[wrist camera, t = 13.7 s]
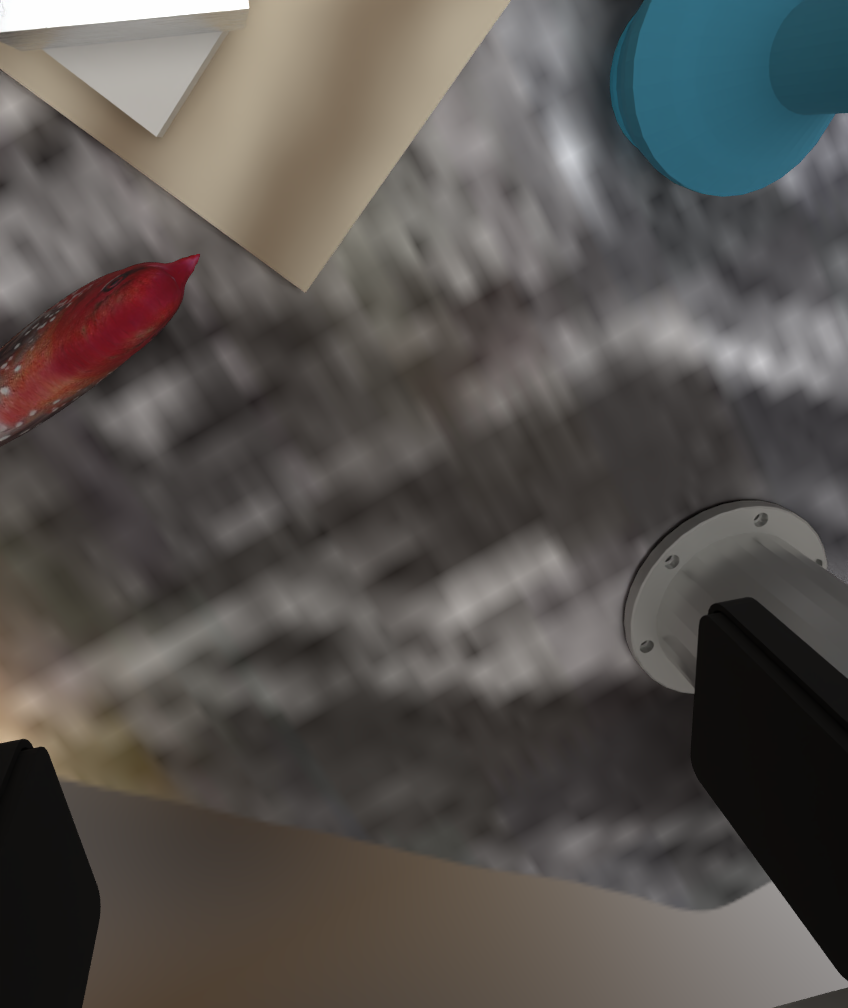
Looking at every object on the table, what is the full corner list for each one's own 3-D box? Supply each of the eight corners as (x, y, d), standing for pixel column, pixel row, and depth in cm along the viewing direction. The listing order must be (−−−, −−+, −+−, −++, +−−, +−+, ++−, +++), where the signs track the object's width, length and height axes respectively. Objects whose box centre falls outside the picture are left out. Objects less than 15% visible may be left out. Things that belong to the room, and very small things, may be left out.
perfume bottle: (620, -85, 31) (917, -254, 18) (808, -13, 34) (1187, -114, 21) (555, 163, 34) (765, 175, 21) (731, 210, 37) (1014, 247, 24)
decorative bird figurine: (227, 259, 33) (230, 303, 24) (-92, 513, 34) (-200, 642, 25) (179, 199, 32) (164, 222, 23) (-151, 465, 33) (-288, 584, 24)
